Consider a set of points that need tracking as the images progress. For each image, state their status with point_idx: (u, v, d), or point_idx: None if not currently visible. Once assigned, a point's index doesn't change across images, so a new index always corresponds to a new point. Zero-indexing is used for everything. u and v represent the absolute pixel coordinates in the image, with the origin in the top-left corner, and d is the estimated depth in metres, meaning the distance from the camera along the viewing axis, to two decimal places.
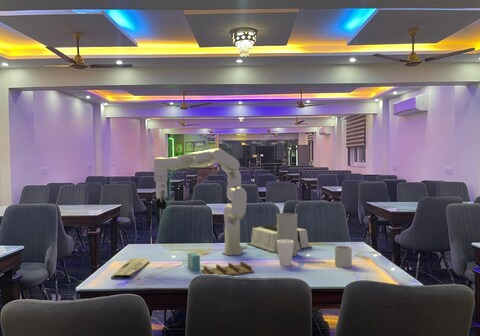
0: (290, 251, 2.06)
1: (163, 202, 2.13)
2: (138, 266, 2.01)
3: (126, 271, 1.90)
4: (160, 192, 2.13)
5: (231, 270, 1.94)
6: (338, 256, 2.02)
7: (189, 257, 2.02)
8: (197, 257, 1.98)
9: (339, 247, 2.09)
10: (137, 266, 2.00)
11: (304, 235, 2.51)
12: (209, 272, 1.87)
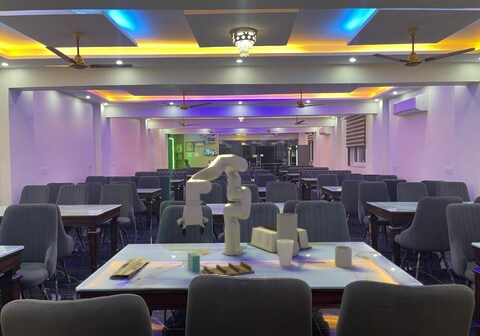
0: (290, 251, 2.06)
1: None
2: (137, 266, 2.01)
3: (125, 271, 1.90)
4: None
5: (231, 270, 1.94)
6: (338, 256, 2.02)
7: (189, 257, 2.02)
8: (197, 257, 1.98)
9: (339, 247, 2.09)
10: (136, 266, 2.00)
11: (304, 235, 2.50)
12: (209, 272, 1.87)
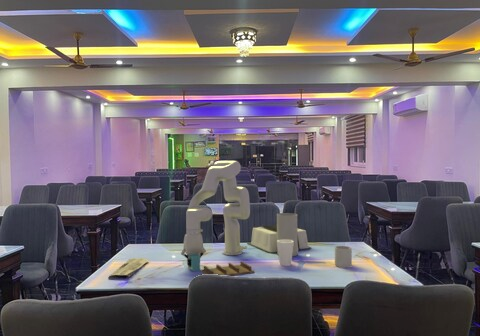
0: (290, 251, 2.06)
1: None
2: (136, 266, 2.01)
3: (124, 271, 1.90)
4: None
5: (231, 270, 1.94)
6: (338, 256, 2.02)
7: None
8: (197, 257, 1.98)
9: (339, 247, 2.09)
10: (135, 266, 2.00)
11: (303, 236, 2.48)
12: (209, 272, 1.87)
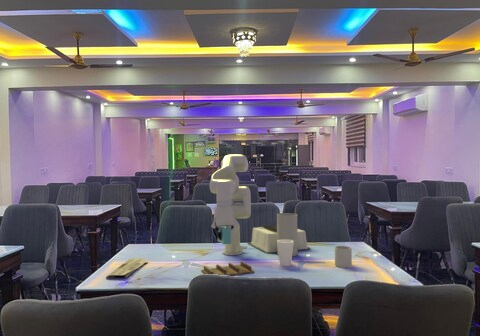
0: (290, 251, 2.06)
1: None
2: (135, 266, 2.00)
3: (121, 271, 1.90)
4: (233, 218, 1.96)
5: (231, 270, 1.94)
6: (338, 256, 2.02)
7: None
8: (228, 230, 1.91)
9: (339, 247, 2.09)
10: (134, 266, 2.00)
11: (302, 236, 2.46)
12: (209, 272, 1.87)
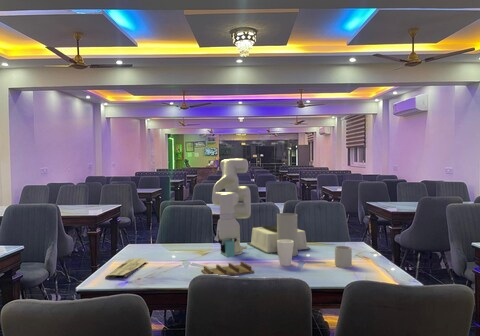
0: (290, 251, 2.06)
1: None
2: (134, 266, 2.00)
3: (121, 271, 1.90)
4: (236, 231, 1.95)
5: (231, 270, 1.94)
6: (338, 256, 2.02)
7: None
8: (231, 242, 1.90)
9: (339, 247, 2.09)
10: (133, 266, 2.00)
11: (302, 236, 2.46)
12: (209, 272, 1.87)
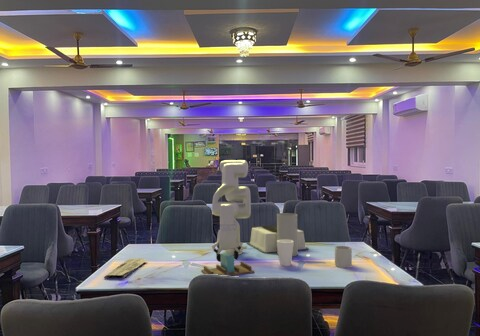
0: (290, 251, 2.06)
1: None
2: (133, 266, 2.00)
3: (119, 271, 1.90)
4: (236, 241, 1.95)
5: None
6: (338, 256, 2.02)
7: (222, 258, 1.95)
8: (232, 258, 1.91)
9: (339, 247, 2.09)
10: (132, 266, 2.00)
11: (300, 237, 2.46)
12: (209, 272, 1.87)
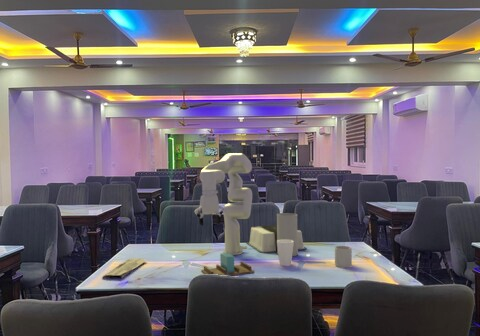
0: (290, 251, 2.06)
1: None
2: (132, 266, 2.00)
3: (118, 271, 1.90)
4: (218, 206, 2.05)
5: None
6: (338, 256, 2.02)
7: (222, 258, 1.95)
8: (232, 258, 1.91)
9: (339, 247, 2.09)
10: (131, 266, 2.00)
11: (298, 237, 2.46)
12: (209, 272, 1.87)
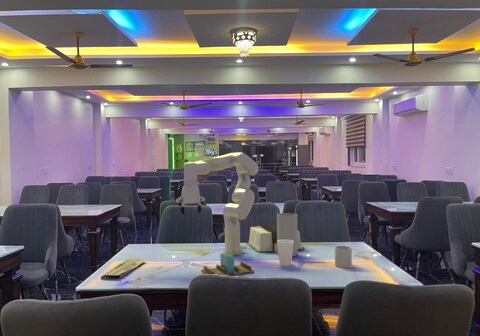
0: (290, 251, 2.06)
1: None
2: (131, 266, 2.00)
3: (117, 271, 1.90)
4: (199, 196, 2.16)
5: None
6: (338, 256, 2.02)
7: (222, 258, 1.95)
8: (232, 258, 1.91)
9: (339, 247, 2.09)
10: (130, 266, 2.00)
11: None
12: (209, 272, 1.87)
